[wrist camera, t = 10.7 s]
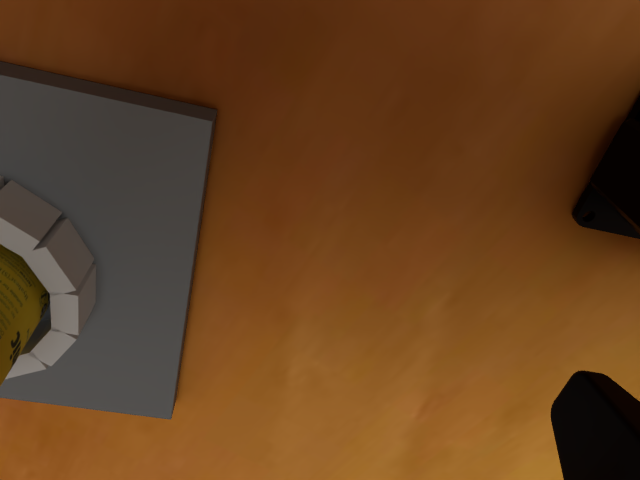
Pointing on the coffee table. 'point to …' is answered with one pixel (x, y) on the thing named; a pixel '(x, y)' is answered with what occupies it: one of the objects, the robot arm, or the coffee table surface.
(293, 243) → the coffee table surface
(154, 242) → the mount plate
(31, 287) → the supplement bottle
